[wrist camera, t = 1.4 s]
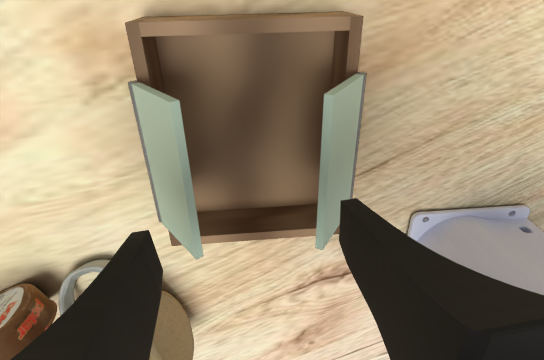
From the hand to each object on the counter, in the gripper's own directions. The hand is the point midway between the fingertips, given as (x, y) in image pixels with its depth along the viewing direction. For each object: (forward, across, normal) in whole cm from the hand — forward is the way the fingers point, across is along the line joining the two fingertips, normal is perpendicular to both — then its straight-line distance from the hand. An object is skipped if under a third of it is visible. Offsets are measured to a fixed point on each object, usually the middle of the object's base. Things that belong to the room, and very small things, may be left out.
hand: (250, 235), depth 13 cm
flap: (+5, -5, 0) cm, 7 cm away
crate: (+10, -1, 0) cm, 11 cm away
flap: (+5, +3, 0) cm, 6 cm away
